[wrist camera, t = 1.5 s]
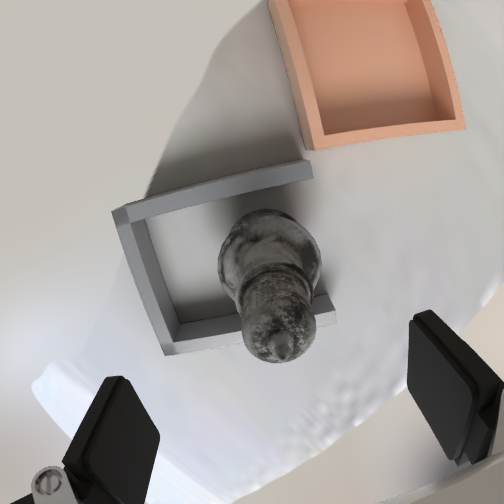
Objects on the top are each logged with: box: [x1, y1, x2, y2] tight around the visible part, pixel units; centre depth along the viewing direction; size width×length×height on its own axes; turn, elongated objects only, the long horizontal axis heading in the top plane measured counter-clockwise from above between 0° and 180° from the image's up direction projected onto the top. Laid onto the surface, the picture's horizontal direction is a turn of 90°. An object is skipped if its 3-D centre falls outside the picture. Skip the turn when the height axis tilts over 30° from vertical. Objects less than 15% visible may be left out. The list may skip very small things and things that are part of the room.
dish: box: [268, 0, 466, 150], centre depth 16 cm, size 10×10×3 cm
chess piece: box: [218, 209, 322, 363], centre depth 16 cm, size 6×6×12 cm
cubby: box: [111, 159, 337, 356], centre depth 21 cm, size 12×10×2 cm
